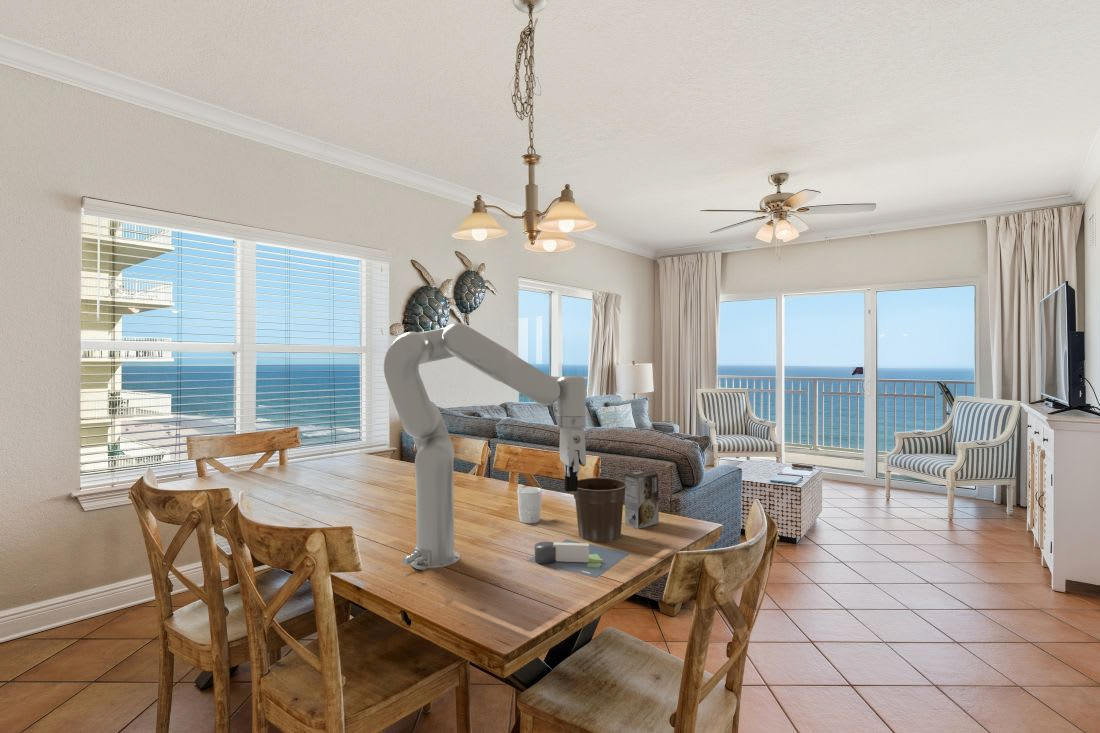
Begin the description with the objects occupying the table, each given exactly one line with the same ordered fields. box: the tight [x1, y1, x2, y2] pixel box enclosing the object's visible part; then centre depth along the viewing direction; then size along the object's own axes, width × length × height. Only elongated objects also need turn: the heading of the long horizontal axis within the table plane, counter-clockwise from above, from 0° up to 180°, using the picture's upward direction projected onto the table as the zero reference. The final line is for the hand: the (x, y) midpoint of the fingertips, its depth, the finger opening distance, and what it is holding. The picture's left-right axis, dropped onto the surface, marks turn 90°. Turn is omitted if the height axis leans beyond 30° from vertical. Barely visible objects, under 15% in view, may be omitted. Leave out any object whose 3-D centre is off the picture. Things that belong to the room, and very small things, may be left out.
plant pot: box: [572, 477, 627, 543], centre depth 159 cm, size 16×16×16 cm
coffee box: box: [624, 469, 660, 530], centre depth 172 cm, size 9×6×16 cm
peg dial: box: [534, 541, 603, 564], centre depth 139 cm, size 17×6×4 cm, turn 83°
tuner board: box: [527, 538, 631, 579], centre depth 142 cm, size 19×20×1 cm
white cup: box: [517, 486, 543, 524], centre depth 176 cm, size 8×8×10 cm
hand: (571, 490), depth 146 cm, fingers closed
